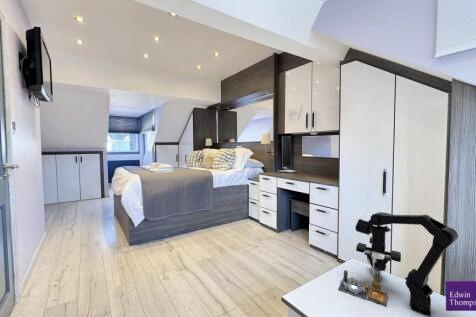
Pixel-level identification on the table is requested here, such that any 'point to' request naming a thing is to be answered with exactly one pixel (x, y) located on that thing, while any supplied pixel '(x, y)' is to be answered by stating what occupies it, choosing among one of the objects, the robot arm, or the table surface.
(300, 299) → the table surface
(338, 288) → the sprocket base
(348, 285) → the sprocket
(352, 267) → the table surface
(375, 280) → the tan rectangular block
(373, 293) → the brown open tray
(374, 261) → the pneumatic valve
